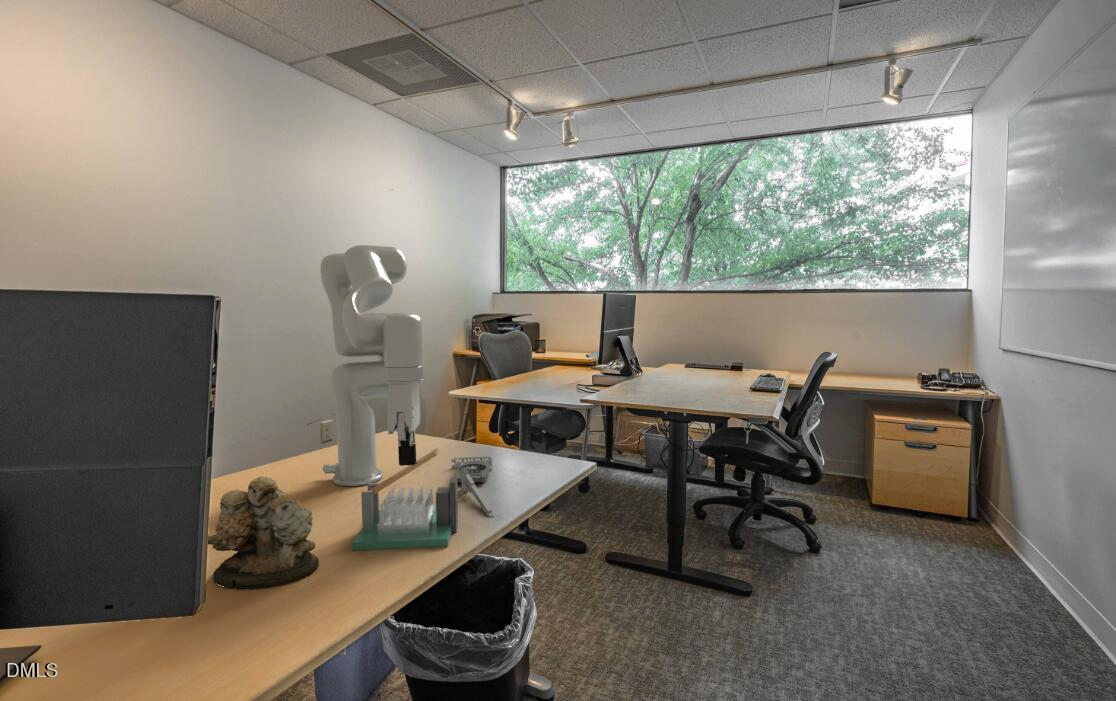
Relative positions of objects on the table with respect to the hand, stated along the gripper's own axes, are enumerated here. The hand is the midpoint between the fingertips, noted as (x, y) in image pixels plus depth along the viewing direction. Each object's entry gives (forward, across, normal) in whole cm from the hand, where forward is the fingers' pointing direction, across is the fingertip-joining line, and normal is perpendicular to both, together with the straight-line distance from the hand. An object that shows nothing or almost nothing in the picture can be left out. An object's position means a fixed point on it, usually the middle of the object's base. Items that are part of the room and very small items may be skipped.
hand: (407, 464), depth 108 cm
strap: (+3, -1, -1) cm, 3 cm away
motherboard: (+14, -1, 0) cm, 14 cm away
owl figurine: (+15, +14, -22) cm, 30 cm away
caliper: (+15, -16, +13) cm, 25 cm away
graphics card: (+14, -36, +9) cm, 39 cm away
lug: (+14, -1, +7) cm, 16 cm away
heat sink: (+13, -1, 0) cm, 13 cm away
